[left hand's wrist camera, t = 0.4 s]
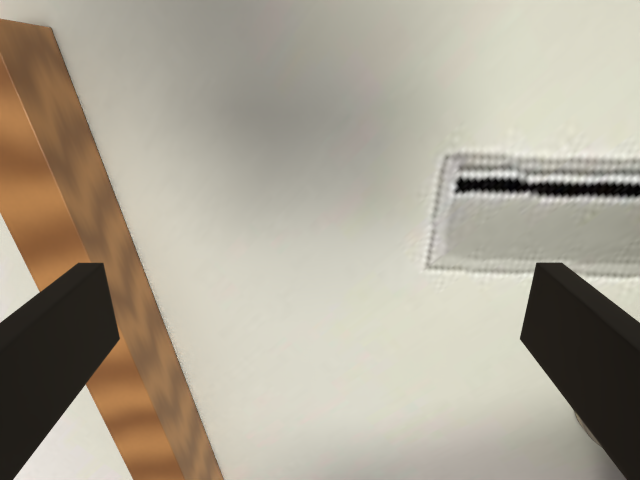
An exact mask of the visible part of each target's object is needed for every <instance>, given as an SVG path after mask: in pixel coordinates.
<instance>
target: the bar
mask: <svg viewBox="0 0 640 480" xmlns="http://www.w3.org/2000/svg"><path fill="white" fill-rule="evenodd" d="M0 213H1V215H2V217H3V219H4V221H5V223H6V225H7V227H8V229H9V231H10V233H11V235H12V237H13V239H14V241H15V243H16V245H17V247H18V249H19V251H20V253H21V255H22V257H23V259H24V261H25V263H26V265H27V267H28V269H29V271H30V273H31V275H32V277H33V279H34V281H35V283H36V285H37V287H38V289H39V291H40V292H41V291H42V290H44V289H45V288H46V287H47V286H49V285H50V284H51V283H53V282H54V281H55V280H56V279H58V278H59V277H60V276H62V275H63V274H64V273H66V272H67V271H68V270H69V269H71V268H72V267H73V266H75V265H76V264H77V263H104V267H105V272H106V276H107V281H108V286H109V290H110V295H111V299H112V304H113V309H114V313H115V318H116V322H117V327H118V332H119V336H120V340H119V341H118V342H117V344H116V345H115V346H114V348H113V349H112V350H111V352H110V353H109V354H108V355H107V357H106V358H105V359H104V361H103V362H102V363H101V365H100V366H99V367H98V369H97V370H96V371H95V373H94V374H93V375H92V377H91V378H90V379H89V380H88V382H87V383H86V386H87V388H88V390H89V392H90V394H91V396H92V398H93V400H94V402H95V404H96V406H97V408H98V410H99V412H100V414H101V416H102V418H103V420H104V422H105V424H106V426H107V428H108V430H109V432H110V434H111V436H112V438H113V440H114V442H115V444H116V446H117V448H118V450H119V452H120V454H121V456H122V458H123V460H124V462H125V464H126V466H127V468H128V470H129V472H130V474H131V476H132V478H133V480H223V477H222V474H221V472H220V469H219V467H218V464H217V461H216V459H215V456H214V453H213V451H212V448H211V446H210V443H209V440H208V438H207V435H206V433H205V430H204V427H203V425H202V422H201V419H200V417H199V414H198V412H197V409H196V406H195V404H194V401H193V398H192V396H191V393H190V391H189V388H188V385H187V383H186V380H185V378H184V375H183V372H182V370H181V367H180V364H179V362H178V359H177V357H176V354H175V351H174V349H173V346H172V344H171V341H170V338H169V336H168V333H167V330H166V328H165V325H164V323H163V320H162V317H161V315H160V312H159V310H158V307H157V304H156V302H155V299H154V296H153V294H152V291H151V289H150V286H149V283H148V281H147V278H146V276H145V273H144V270H143V268H142V265H141V262H140V260H139V257H138V255H137V252H136V249H135V247H134V244H133V241H132V239H131V236H130V234H129V231H128V228H127V226H126V223H125V221H124V218H123V215H122V213H121V210H120V207H119V205H118V202H117V200H116V197H115V194H114V192H113V189H112V187H111V184H110V181H109V179H108V176H107V173H106V171H105V168H104V166H103V163H102V160H101V158H100V155H99V153H98V150H97V147H96V145H95V142H94V139H93V137H92V134H91V132H90V129H89V126H88V124H87V121H86V119H85V116H84V113H83V111H82V108H81V105H80V103H79V100H78V98H77V95H76V92H75V90H74V87H73V84H72V82H71V79H70V77H69V74H68V71H67V69H66V66H65V64H64V61H63V58H62V56H61V53H60V50H59V48H58V45H57V43H56V40H55V37H54V35H53V32H52V30H51V28H49V27H44V26H38V25H33V24H27V23H21V22H16V21H10V20H5V19H0Z"/></svg>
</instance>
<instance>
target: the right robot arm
mask: <svg viewBox="0 0 640 480" xmlns="http://www.w3.org/2000/svg"><path fill="white" fill-rule="evenodd" d="M575 414H576V417H577V419H578V421H579V423H580V424H581V426H582V427H583V428H584V430H585V431H586V432H587V434H588V435H589V436H590V437H591V439H593V440H594V441H595V442H596V443H597V444H598V445H599V446H601V445H600V444H599V442H598V441H597V440H596V438H595V437H594V436H593V434H592V433H591V432H590V430H589V429H588V428H587V426H586V425H585V424H584V423H583V421H582V420H581V419H580V417H579V416H578V415H577V413H576V412H575ZM601 447H602V446H601ZM602 448H603V447H602Z"/></svg>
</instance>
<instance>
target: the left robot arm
mask: <svg viewBox="0 0 640 480" xmlns="http://www.w3.org/2000/svg"><path fill="white" fill-rule="evenodd" d="M119 340H120V336H119V332H118V327H117V322H116V318H115V313H114V309H113V304H112V299H111V295H110V290H109V286H108V281H107V276H106V272H105V267H104V263H77V264H76V265H75V266H73V267H72V268H71V269H69V270H68V271H67V272H66V273H64V274H63V275H62V276H60V277H59V278H58V279H56V280H55V281H54V282H53V283H51V284H50V285H49V286H47V287H46V288H45V289H44V290H42V291H41V292H40V293H38V294H37V295H36V296H34V297H33V298H32V299H31V300H29V301H28V302H27V303H25V304H24V305H23V306H22V307H20V308H19V309H18V310H16V311H15V312H14V313H12V314H11V315H10V316H9V317H7V318H6V319H5V320H3V321H2V322H1V323H0V480H13V479H14V478H15V476H16V475H17V474H18V472H19V471H20V470H21V469H22V467H23V466H24V465H25V463H26V462H27V461H28V459H29V458H30V457H31V455H32V454H33V453H34V451H35V450H36V449H37V447H38V446H39V445H40V444H41V442H42V441H43V440H44V438H45V437H46V436H47V434H48V433H49V432H50V430H51V429H52V428H53V426H54V425H55V424H56V423H57V421H58V420H59V419H60V417H61V416H62V415H63V413H64V412H65V411H66V409H67V408H68V407H69V405H70V404H71V403H72V401H73V400H74V399H75V398H76V396H77V395H78V394H79V392H80V391H81V390H82V388H83V387H84V386H85V384H86V383H87V382H88V380H89V379H90V378H91V377H92V375H93V374H94V373H95V371H96V370H97V369H98V367H99V366H100V365H101V363H102V362H103V361H104V359H105V358H106V357H107V355H108V354H109V353H110V352H111V350H112V349H113V348H114V346H115V345H116V344H117V342H118V341H119ZM520 340H521V341H522V342H523V344H524V345H525V346H526V348H527V349H528V350H529V352H530V353H531V354H532V355H533V357H534V358H535V359H536V361H537V362H538V363H539V365H540V366H541V367H542V369H543V370H544V371H545V373H546V374H547V375H548V377H549V378H550V379H551V380H552V382H553V383H554V384H555V386H556V387H557V388H558V390H559V391H560V392H561V394H562V395H563V396H564V398H565V399H566V400H567V401H568V403H569V404H570V405H571V407H572V408H573V409H574V411H575V412H576V413H577V415H578V416H579V417H580V419H581V420H582V421H583V423H584V424H585V425H586V426H587V428H588V429H589V430H590V432H591V433H592V434H593V436H594V437H595V438H596V440H597V441H598V442H599V444H600V445H601V446H602V447H603V449H604V450H605V451H606V453H607V454H608V455H609V457H610V458H611V459H612V461H613V462H614V463H615V465H616V466H617V467H618V469H619V470H620V471H621V472H622V474H623V475H624V476H625V478H626V479H627V480H640V323H639V322H638V321H637V320H635V319H634V318H633V317H631V316H630V315H629V314H628V313H626V312H625V311H624V310H622V309H621V308H620V307H618V306H617V305H616V304H615V303H613V302H612V301H611V300H609V299H608V298H607V297H606V296H604V295H603V294H602V293H600V292H599V291H598V290H596V289H595V288H594V287H593V286H591V285H590V284H589V283H587V282H586V281H585V280H584V279H582V278H581V277H580V276H578V275H577V274H576V273H574V272H573V271H572V270H571V269H569V268H568V267H567V266H565V265H564V264H563V263H536V267H535V272H534V276H533V281H532V286H531V290H530V295H529V299H528V304H527V309H526V313H525V318H524V322H523V327H522V332H521V336H520Z"/></svg>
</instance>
